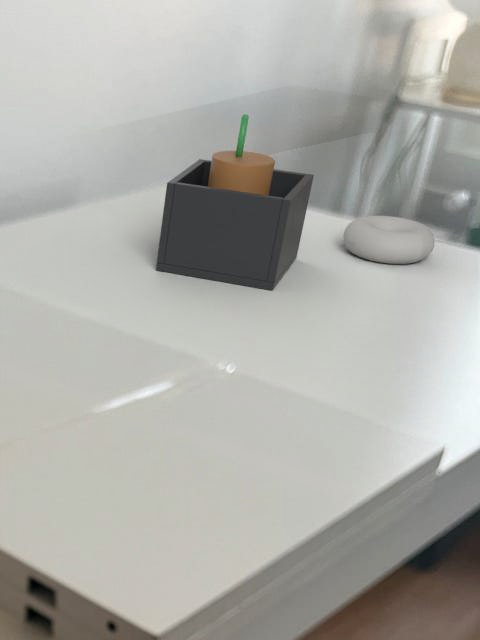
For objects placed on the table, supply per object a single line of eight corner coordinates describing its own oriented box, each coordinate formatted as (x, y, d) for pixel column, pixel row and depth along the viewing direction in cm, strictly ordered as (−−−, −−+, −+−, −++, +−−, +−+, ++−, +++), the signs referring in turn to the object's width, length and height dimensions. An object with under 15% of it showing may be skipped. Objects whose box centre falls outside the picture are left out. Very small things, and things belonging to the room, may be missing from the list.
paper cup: (267, 257, 112) (294, 116, 104) (238, 269, 108) (264, 124, 100) (216, 244, 116) (238, 106, 107) (186, 256, 112) (207, 113, 103)
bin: (296, 258, 115) (314, 174, 110) (272, 290, 106) (290, 200, 101) (187, 240, 119) (199, 158, 114) (155, 270, 110) (166, 182, 104)
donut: (364, 237, 124) (324, 252, 118) (372, 207, 122) (331, 220, 116) (444, 257, 118) (406, 273, 112) (453, 226, 116) (415, 240, 110)
